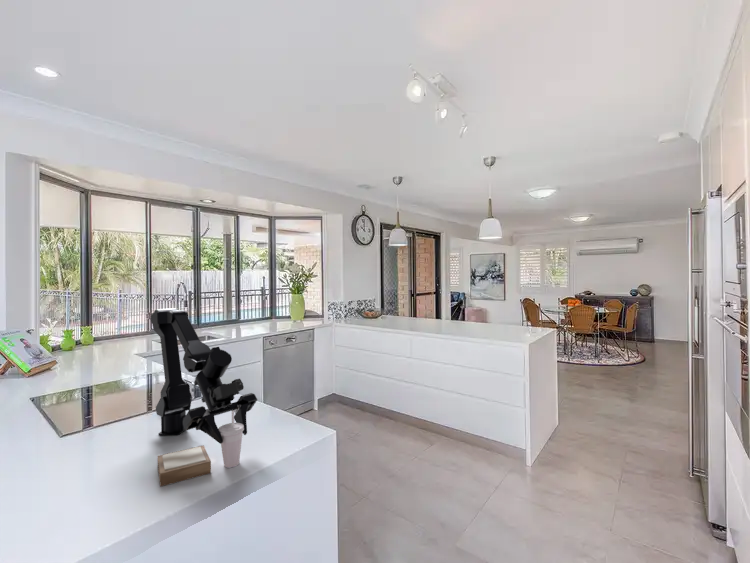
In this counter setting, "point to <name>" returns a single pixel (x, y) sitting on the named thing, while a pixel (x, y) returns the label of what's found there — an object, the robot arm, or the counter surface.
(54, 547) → the counter surface
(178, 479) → the plinth
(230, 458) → the smoothie
